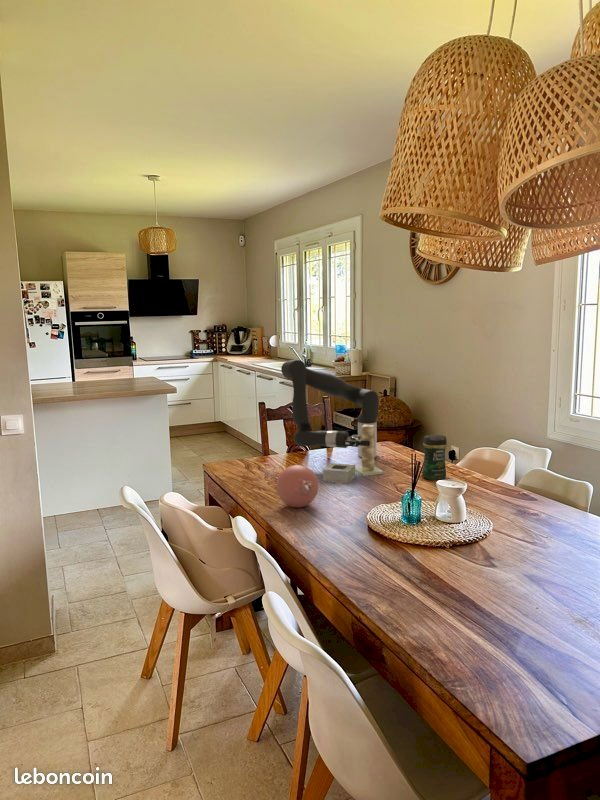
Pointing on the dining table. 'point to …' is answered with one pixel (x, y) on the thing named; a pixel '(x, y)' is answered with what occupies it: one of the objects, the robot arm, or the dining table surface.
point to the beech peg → (368, 448)
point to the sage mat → (375, 471)
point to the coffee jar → (434, 457)
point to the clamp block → (339, 473)
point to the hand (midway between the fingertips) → (372, 441)
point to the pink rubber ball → (297, 486)
